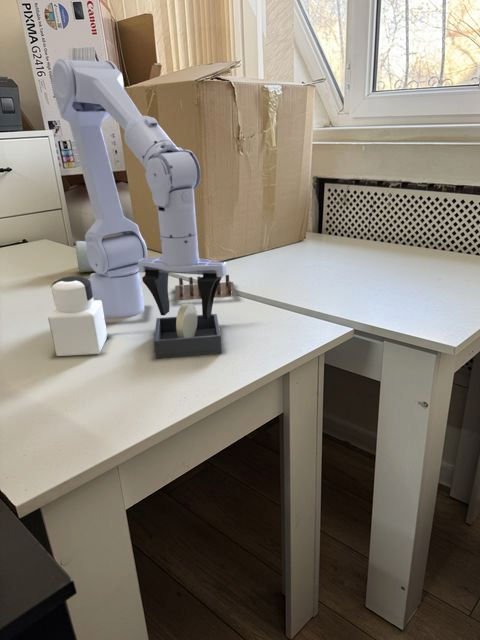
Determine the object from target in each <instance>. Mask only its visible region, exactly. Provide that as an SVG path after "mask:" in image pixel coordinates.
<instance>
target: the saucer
mask: <svg viewBox="0 0 480 640" xmlns="http://www.w3.org/2000/svg"><path fill="white" fill-rule="evenodd" d="M197 315H198V313H197V309H196V305H194V304H193V303H182V304H181V305H180V306H179V309H178V311H177V315H176V317H177V320H176V330H177V335H178V338H185V337H194V336H195V333H196V329H197Z"/></svg>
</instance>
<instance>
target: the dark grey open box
mask: <svg viewBox="0 0 480 640" xmlns="http://www.w3.org/2000/svg"><path fill="white" fill-rule="evenodd" d="M176 320H177V316H168V317H167V316H166V317H156V320H155V329H154V337H153V346H154V353H155V354H154V355H155V359H167V358H178V357H179V358H180V357H181V358H182V357H191V356H205V355H216V354H222V353H223V349H222V334H221V329H220V324H219V318H218V313H212V314H211V316H210V317H209V318H208V319H203V314H197V329H196V333H195V336H194V337H185V338H178V335H177V330H176Z"/></svg>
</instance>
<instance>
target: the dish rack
mask: <svg viewBox="0 0 480 640" xmlns="http://www.w3.org/2000/svg"><path fill="white" fill-rule="evenodd" d="M201 277H202V276H201V275H199V276H197V277H196V281H197V280H199V279H200V278H201ZM224 277H225V282H221V281H220V283H219V285H218V288H217V290H216V293H215V297H214V299H218V298H231V297H232V298H233V297H238V294H237V290H236V287H235V284H234V281H230V274H226V275H225V276H224ZM183 279H184V278H183V277H178V284H177V285H174V301H189V300H202V299H201V294H200V289H199V286H198V283H195V284H194V278H193V276H189V277H188V283H189V284H184V281H183Z"/></svg>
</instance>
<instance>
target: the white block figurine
mask: <svg viewBox="0 0 480 640" xmlns="http://www.w3.org/2000/svg"><path fill="white" fill-rule="evenodd" d="M50 287H51V292H52V297H53V302H54V306H55V308H54V309H53V311H52V312H51V313H50V314H49V315H48V318H47V320H48V323H49V328H50V333H51V338H52V343H53V346H54V351H55V355H56V356H57V357H67V356H87V355H88V356H89V355H99V354H101V351H102V349H103V347H104V345H105V343H106V341H107V338H108V331H107V325H106V319H105V318H104V313H103V307H102V302H101V300H93V294H92V288H91V282H90V279H88V278H87V277H84V276H81V275H80V276H79V275H71V276H65V277H61V278H59V279H57V280H55V281H53V283H51V286H50Z"/></svg>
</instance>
